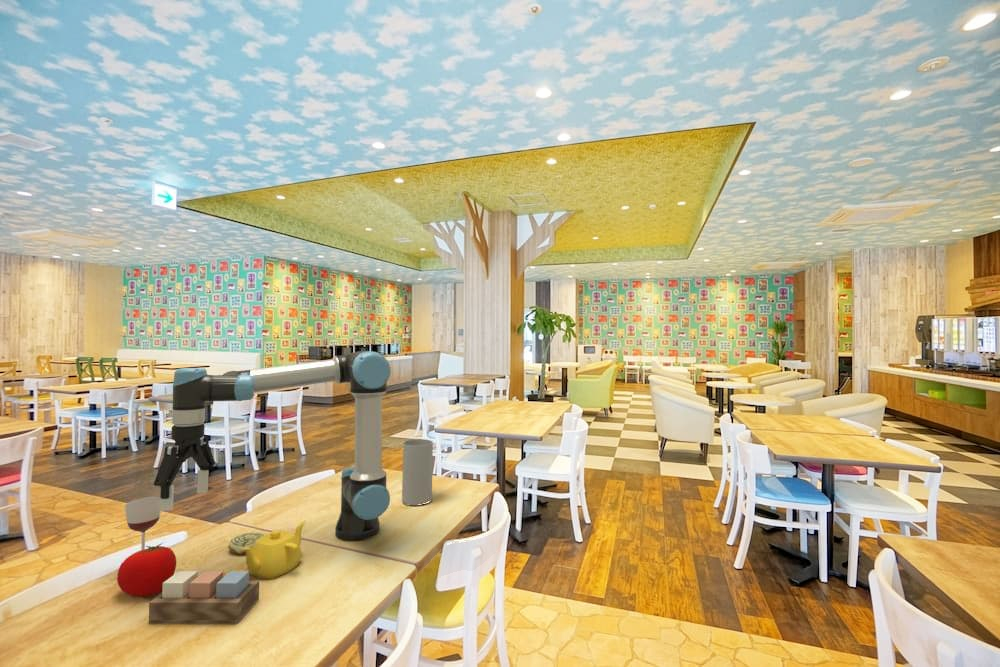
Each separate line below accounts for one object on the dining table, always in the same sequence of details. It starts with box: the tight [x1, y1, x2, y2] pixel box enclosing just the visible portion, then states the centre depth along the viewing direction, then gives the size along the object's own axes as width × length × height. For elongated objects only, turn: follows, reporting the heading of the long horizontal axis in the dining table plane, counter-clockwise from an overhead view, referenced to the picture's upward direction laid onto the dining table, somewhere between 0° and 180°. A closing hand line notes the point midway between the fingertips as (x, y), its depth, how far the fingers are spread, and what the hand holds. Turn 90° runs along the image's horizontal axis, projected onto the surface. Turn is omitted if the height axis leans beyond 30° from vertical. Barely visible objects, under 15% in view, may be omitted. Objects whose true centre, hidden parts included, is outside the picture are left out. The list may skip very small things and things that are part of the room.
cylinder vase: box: [401, 438, 434, 506], centre depth 192 cm, size 12×12×25 cm
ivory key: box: [161, 570, 199, 599], centre depth 113 cm, size 5×6×5 cm
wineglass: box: [124, 496, 162, 551], centre depth 132 cm, size 8×9×20 cm
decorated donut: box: [228, 532, 265, 556], centre depth 147 cm, size 10×11×4 cm
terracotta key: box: [189, 570, 225, 599], centre depth 113 cm, size 5×6×5 cm
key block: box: [148, 580, 260, 625], centre depth 113 cm, size 21×10×5 cm, turn 91°
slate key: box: [216, 570, 250, 599], centre depth 113 cm, size 5×6×5 cm
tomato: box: [116, 542, 177, 598], centre depth 121 cm, size 12×14×12 cm
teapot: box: [241, 520, 307, 580], centre depth 134 cm, size 22×16×11 cm
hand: (185, 501), depth 124 cm, fingers open, 13 cm apart
